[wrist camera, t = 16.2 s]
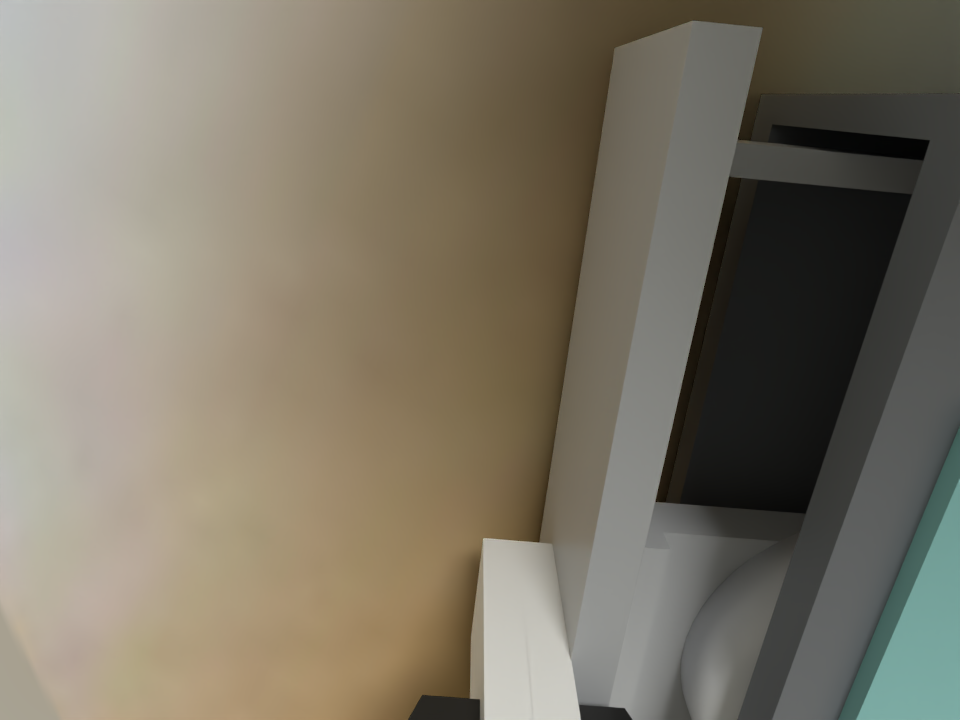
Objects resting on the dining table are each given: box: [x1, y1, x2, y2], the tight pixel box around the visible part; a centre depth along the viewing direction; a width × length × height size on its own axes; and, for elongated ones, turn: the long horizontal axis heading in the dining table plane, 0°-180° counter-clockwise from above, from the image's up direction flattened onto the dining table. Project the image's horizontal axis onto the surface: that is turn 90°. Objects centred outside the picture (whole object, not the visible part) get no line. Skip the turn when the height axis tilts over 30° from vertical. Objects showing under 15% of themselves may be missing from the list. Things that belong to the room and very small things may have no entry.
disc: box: [680, 532, 800, 720], centre depth 13 cm, size 7×7×2 cm
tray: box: [539, 20, 924, 720], centre depth 14 cm, size 17×22×5 cm
